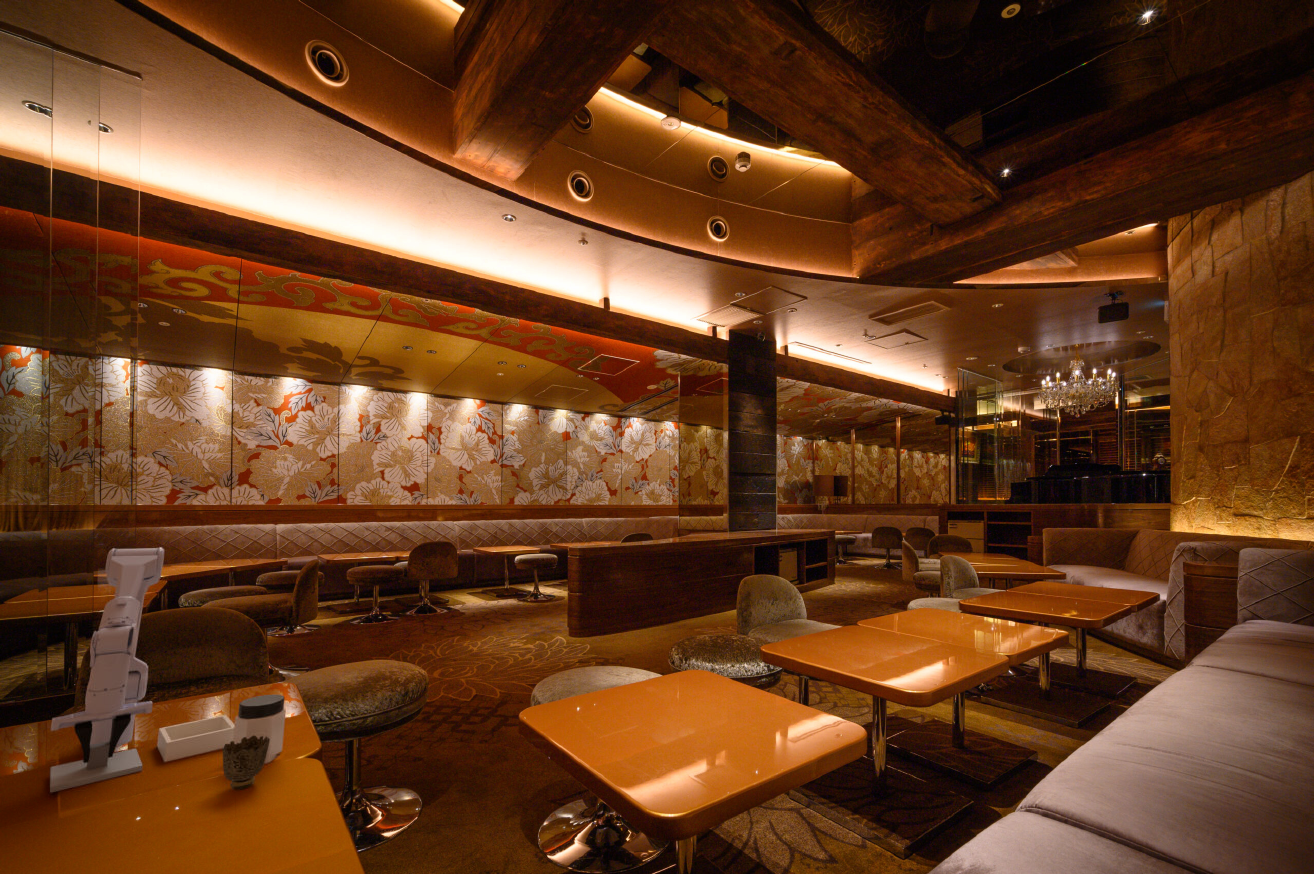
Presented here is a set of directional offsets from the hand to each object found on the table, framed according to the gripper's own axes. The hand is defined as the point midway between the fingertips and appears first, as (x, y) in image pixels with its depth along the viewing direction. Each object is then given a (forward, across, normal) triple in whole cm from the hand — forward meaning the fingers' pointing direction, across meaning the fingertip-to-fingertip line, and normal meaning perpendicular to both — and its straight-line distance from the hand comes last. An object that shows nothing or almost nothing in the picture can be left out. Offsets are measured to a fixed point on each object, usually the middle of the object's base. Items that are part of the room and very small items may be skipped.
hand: (97, 758), depth 112 cm
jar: (+3, +24, -14) cm, 28 cm away
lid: (+2, 0, 0) cm, 3 cm away
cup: (+3, +19, -27) cm, 33 cm away
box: (+3, +16, +2) cm, 16 cm away
